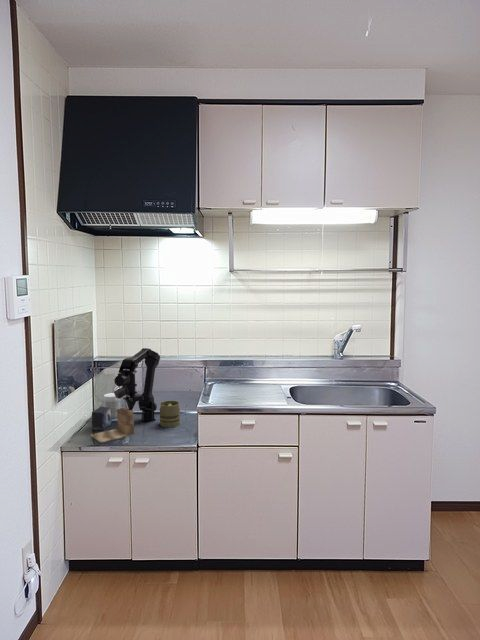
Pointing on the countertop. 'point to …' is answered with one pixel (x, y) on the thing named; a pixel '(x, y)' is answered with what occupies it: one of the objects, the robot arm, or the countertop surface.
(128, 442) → the countertop surface
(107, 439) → the cutting board
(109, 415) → the small box
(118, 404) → the supplement tub
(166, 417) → the piston
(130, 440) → the countertop surface
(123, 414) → the brown rectangular block
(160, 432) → the countertop surface
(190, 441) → the countertop surface
